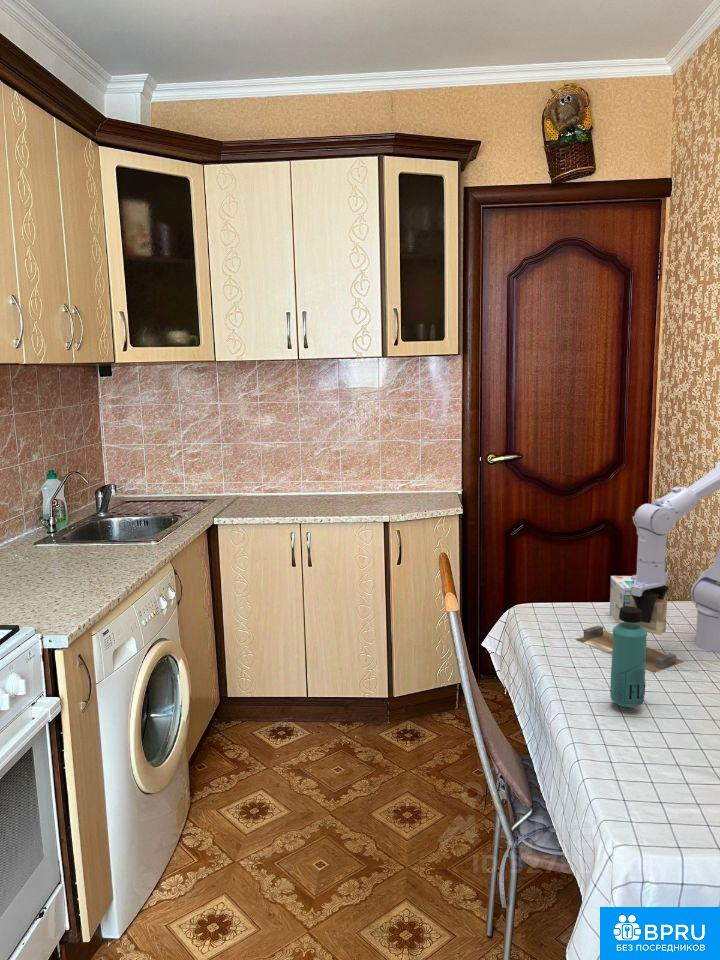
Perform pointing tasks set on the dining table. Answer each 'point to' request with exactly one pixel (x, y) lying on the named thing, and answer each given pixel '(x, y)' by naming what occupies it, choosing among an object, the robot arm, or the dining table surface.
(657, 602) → the tall tan box
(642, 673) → the beverage bottle
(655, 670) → the brown board with blocks
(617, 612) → the light bulb box
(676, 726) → the dining table surface
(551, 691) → the dining table surface
